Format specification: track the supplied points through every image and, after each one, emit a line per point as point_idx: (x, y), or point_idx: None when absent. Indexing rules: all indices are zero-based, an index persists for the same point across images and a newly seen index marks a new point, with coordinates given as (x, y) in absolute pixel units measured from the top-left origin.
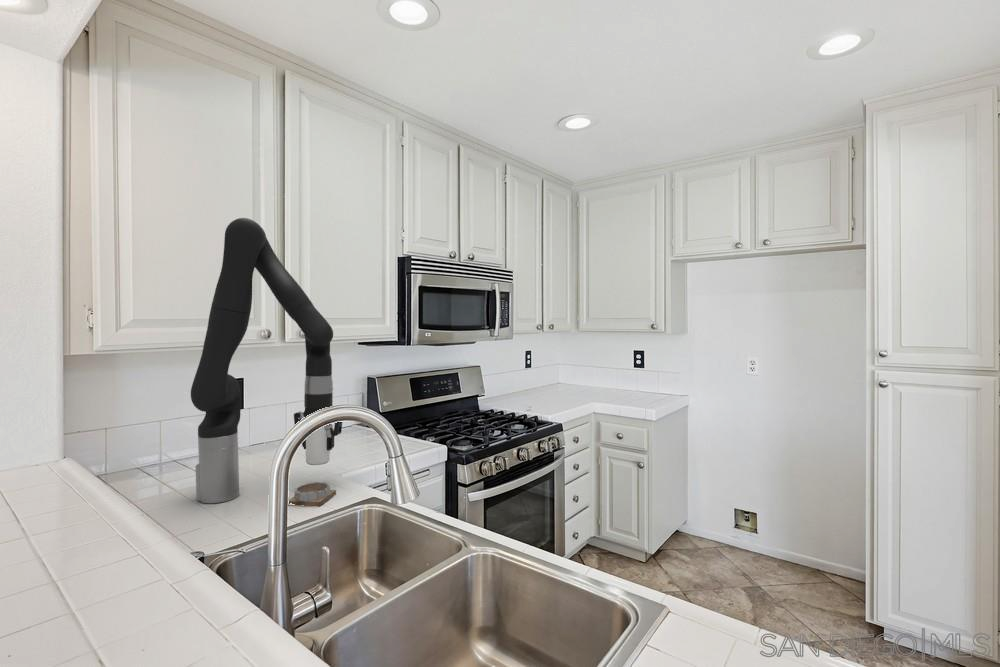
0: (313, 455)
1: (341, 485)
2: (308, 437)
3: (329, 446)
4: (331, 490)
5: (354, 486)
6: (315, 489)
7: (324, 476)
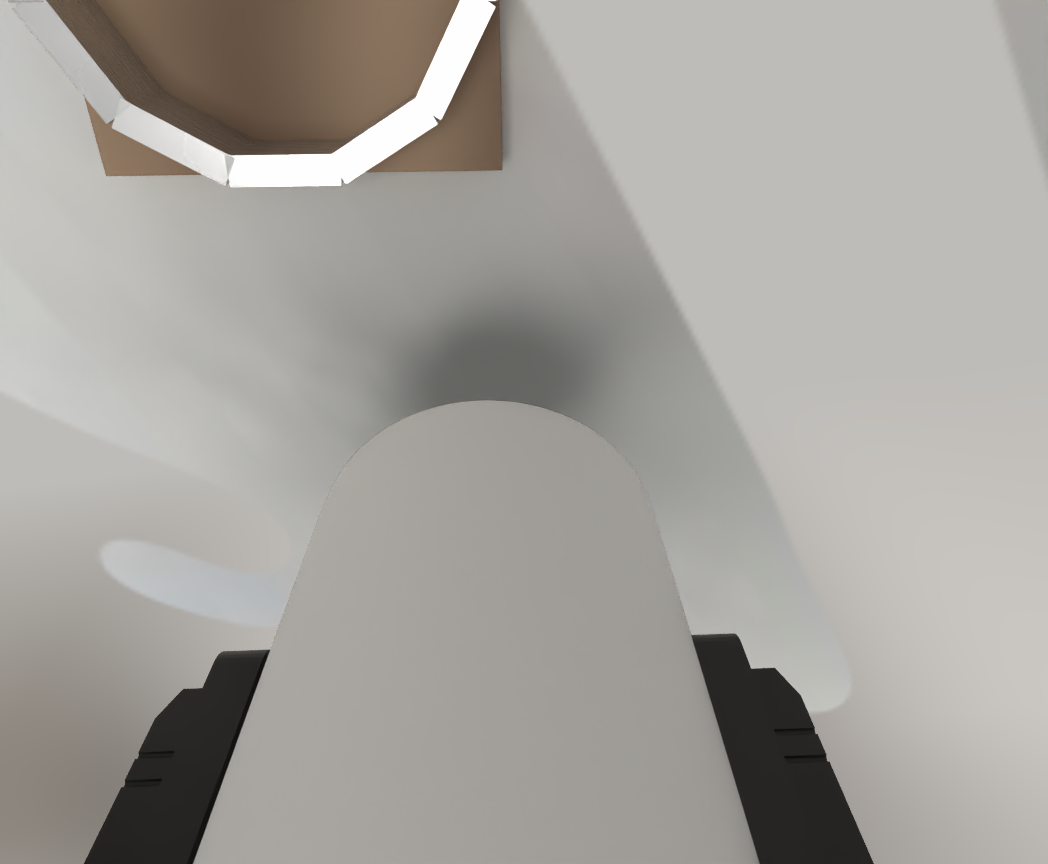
0: (453, 476)
1: (261, 423)
2: (609, 801)
3: (203, 718)
4: (149, 153)
5: (108, 414)
6: (351, 137)
7: None
